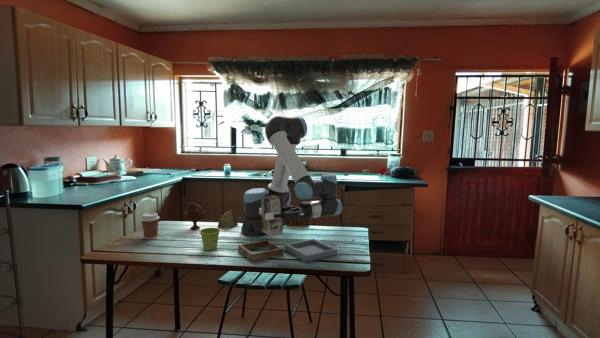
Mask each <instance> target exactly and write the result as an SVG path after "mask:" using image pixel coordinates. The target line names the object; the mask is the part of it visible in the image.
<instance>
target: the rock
mask: <svg viewBox="0 0 600 338" xmlns="http://www.w3.org/2000/svg"><path fill="white" fill-rule="evenodd" d="M218 220H219V221H218V224H217V228H234V227H238V225H239V224H238V221H237V218H236V215H235V212H234V210H232V209H229V210H227V211H225V212H224V213H223V215H222V216H221V218H220V219H218Z"/></svg>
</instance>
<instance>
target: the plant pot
mask: <svg viewBox="0 0 600 338" xmlns="http://www.w3.org/2000/svg"><path fill="white" fill-rule="evenodd" d="M220 232H221V229H220V228H219V227H207V228H201V229H199V234H200V235H201V241H202V248H203V250H204V251H208V252H209V251H215V250H217V249H218V242H219V235H220Z"/></svg>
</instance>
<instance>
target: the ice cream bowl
mask: <svg viewBox="0 0 600 338" xmlns="http://www.w3.org/2000/svg"><path fill="white" fill-rule="evenodd" d="M185 208H186V211H184V213H183V215H184V216H185V218H186V219H187V220H188V221H190V222H192V223H193V225H192V226H191V227H190V228H189V230H191V231H197V230H196V229H198V230H201V226H198V224H197V222H199V221H201V220H202V219H203V217H204V216H205V213H206V211H205V210H203V206H201V205H200V204H197V203H196V202H191V201H190V202H189V203H187V204H186V207H185Z"/></svg>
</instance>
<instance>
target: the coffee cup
mask: <svg viewBox="0 0 600 338" xmlns="http://www.w3.org/2000/svg"><path fill="white" fill-rule="evenodd" d="M160 219H161V218H160V216H159V215H158V213H156V212H149V213H148V212H147V213H146V212H145V213H143V214H142V216H141V217H140V221H141V223H142V230H143V238H144V239H145V240H154V239H157V238H158V233H159V220H160Z"/></svg>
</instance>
